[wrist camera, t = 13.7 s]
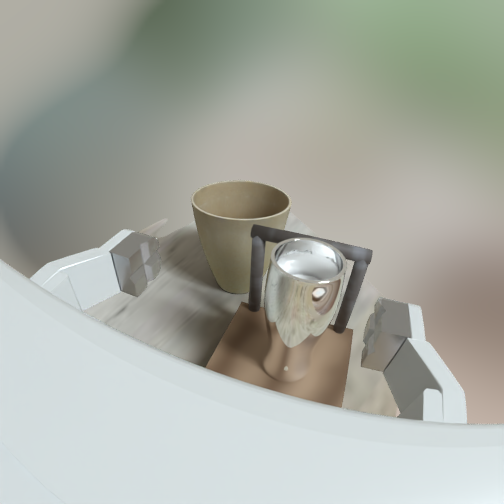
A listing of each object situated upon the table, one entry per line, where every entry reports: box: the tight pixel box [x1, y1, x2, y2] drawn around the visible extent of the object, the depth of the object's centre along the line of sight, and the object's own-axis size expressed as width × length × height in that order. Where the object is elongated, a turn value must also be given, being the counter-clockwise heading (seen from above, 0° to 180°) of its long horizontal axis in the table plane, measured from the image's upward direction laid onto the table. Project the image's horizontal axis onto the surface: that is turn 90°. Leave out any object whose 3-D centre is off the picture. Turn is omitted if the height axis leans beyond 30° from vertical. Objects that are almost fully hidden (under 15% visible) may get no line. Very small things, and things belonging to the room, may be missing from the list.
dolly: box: [205, 224, 372, 408], centre depth 32 cm, size 16×13×17 cm
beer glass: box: [261, 238, 347, 382], centre depth 29 cm, size 7×7×15 cm
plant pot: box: [191, 180, 292, 294], centre depth 48 cm, size 15×15×16 cm
